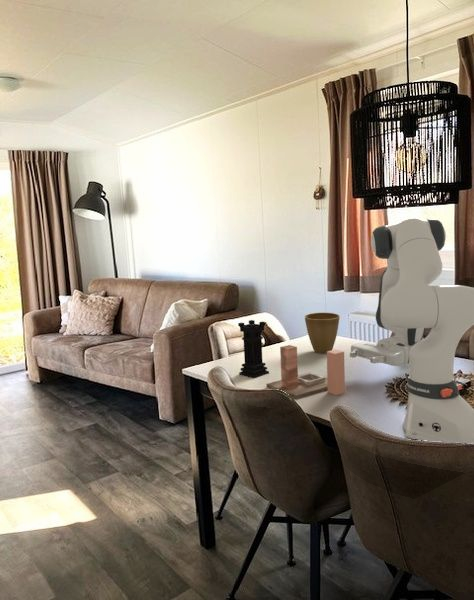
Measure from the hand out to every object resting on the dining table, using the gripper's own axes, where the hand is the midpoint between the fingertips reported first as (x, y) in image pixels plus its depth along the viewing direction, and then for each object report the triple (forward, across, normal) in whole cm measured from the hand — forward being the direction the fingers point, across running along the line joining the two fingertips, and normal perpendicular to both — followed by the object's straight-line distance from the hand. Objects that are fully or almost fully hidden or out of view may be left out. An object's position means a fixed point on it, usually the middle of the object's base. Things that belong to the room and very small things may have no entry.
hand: (361, 357), depth 179 cm
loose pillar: (+12, 0, +9) cm, 16 cm away
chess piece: (+20, -36, +10) cm, 42 cm away
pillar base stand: (+16, -12, +10) cm, 22 cm away
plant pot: (-21, -42, +10) cm, 48 cm away
